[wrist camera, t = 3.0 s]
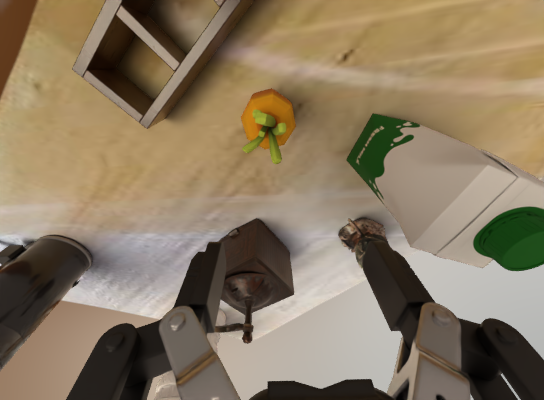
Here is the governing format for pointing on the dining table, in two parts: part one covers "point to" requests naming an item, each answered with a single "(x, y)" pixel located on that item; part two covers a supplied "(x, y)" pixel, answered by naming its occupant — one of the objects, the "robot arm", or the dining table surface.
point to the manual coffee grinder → (254, 273)
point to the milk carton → (452, 195)
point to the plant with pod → (361, 236)
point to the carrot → (268, 122)
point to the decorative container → (166, 387)
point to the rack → (134, 20)
